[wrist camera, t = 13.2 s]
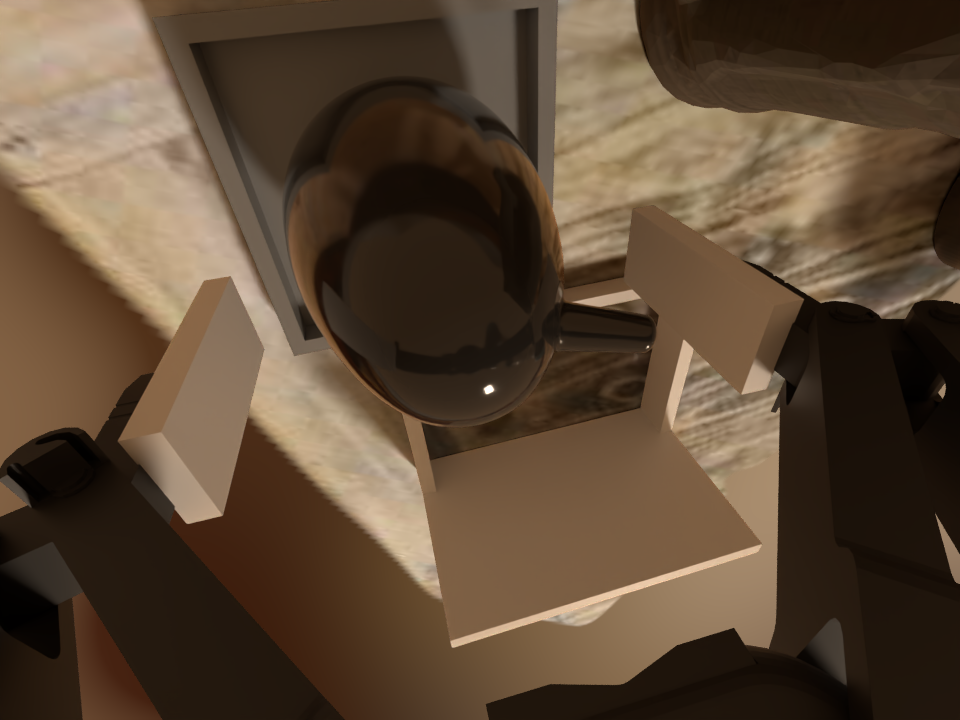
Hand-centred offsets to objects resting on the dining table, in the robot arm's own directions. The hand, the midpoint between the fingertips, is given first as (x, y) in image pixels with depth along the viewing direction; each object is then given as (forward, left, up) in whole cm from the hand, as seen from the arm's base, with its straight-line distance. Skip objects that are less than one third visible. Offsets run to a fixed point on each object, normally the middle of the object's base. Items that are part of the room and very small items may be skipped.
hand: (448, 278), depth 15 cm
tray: (0, 0, -10) cm, 10 cm away
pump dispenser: (0, 0, -9) cm, 10 cm away
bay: (-7, +15, -10) cm, 19 cm away
